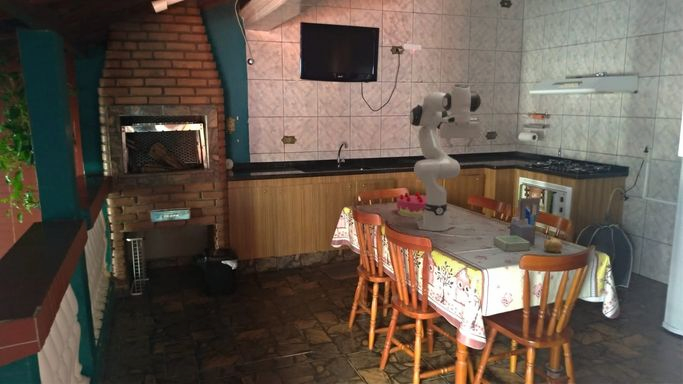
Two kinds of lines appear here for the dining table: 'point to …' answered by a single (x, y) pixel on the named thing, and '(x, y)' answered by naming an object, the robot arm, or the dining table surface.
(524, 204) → the loose hook
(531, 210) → the clamped hook
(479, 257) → the dining table surface
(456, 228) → the dining table surface
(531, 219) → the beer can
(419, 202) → the cake
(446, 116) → the robot arm
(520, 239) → the bin
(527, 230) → the vise
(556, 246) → the onion
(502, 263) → the dining table surface
